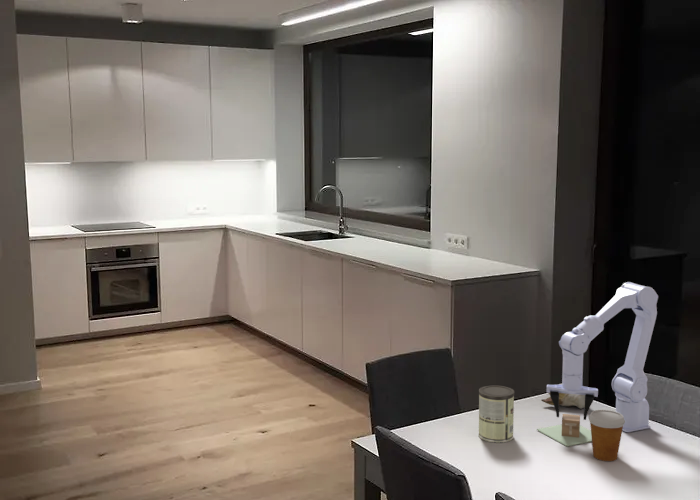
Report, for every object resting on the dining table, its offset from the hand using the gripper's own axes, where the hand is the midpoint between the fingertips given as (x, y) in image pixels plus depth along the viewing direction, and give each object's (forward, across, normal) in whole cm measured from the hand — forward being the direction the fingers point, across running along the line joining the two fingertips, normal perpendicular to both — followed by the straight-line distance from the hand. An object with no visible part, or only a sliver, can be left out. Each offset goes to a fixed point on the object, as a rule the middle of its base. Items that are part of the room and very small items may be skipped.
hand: (571, 417), depth 226 cm
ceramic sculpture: (+6, -2, +26) cm, 27 cm away
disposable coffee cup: (+6, +10, -14) cm, 18 cm away
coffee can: (+5, -21, -8) cm, 23 cm away
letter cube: (+5, 0, 0) cm, 5 cm away
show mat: (+5, 0, 0) cm, 5 cm away
